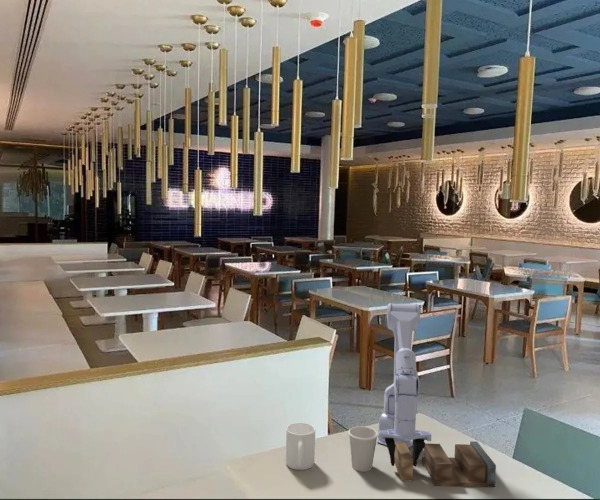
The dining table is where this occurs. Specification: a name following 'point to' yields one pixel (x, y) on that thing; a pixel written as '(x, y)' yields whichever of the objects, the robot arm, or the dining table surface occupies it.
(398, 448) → the tall tan pillar
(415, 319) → the robot arm
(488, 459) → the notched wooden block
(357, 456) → the dixie cup
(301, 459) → the mug
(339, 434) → the dining table surface
